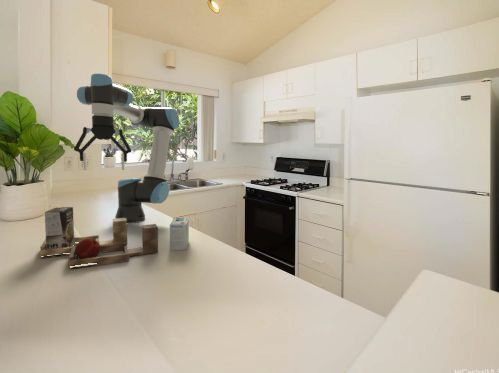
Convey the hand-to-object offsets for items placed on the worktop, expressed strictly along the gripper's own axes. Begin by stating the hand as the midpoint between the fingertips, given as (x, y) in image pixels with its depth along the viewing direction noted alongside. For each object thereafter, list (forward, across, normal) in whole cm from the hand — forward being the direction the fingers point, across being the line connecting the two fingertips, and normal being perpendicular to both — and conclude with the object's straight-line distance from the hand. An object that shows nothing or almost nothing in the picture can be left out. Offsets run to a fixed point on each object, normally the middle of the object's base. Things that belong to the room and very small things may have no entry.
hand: (104, 169), depth 112 cm
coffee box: (+31, +16, +3) cm, 35 cm away
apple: (+31, +6, +17) cm, 36 cm away
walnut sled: (+30, -3, +17) cm, 35 cm away
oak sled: (+30, +7, +3) cm, 31 cm away
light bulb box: (+31, -27, +14) cm, 44 cm away
